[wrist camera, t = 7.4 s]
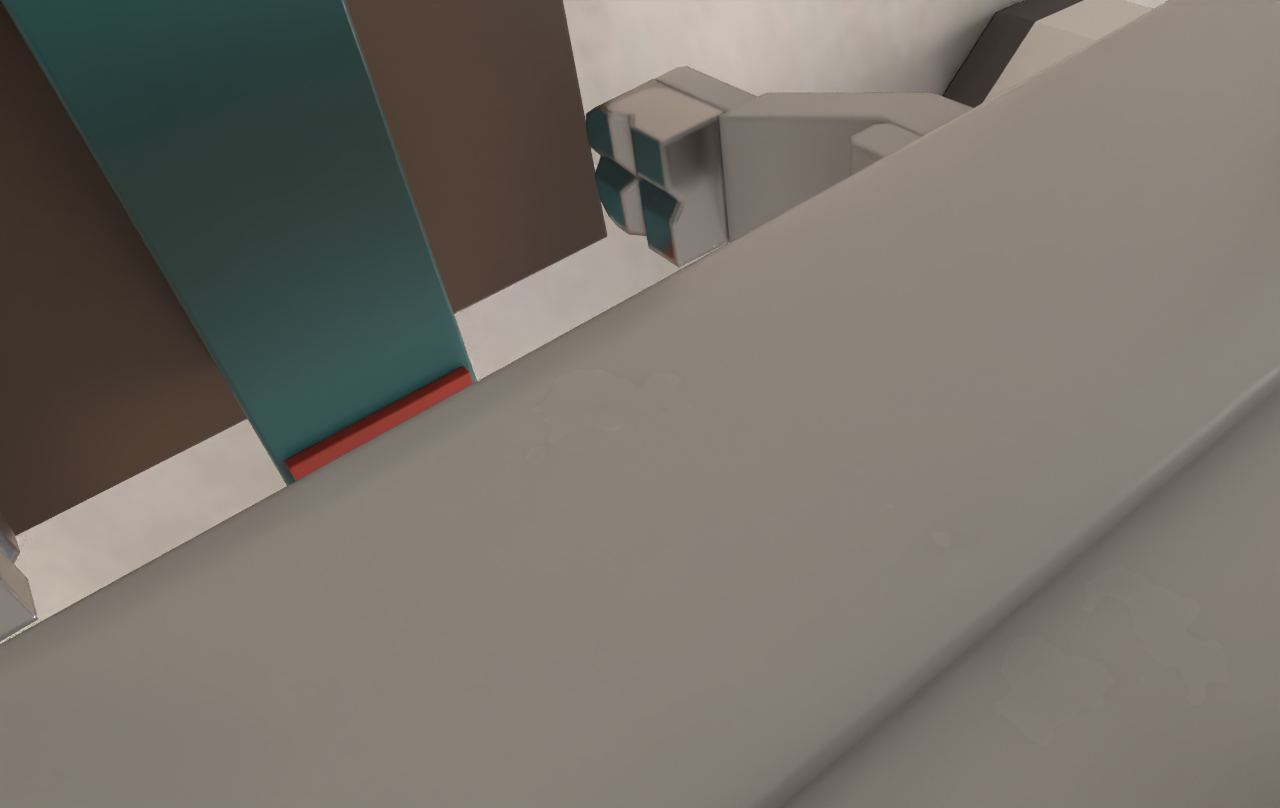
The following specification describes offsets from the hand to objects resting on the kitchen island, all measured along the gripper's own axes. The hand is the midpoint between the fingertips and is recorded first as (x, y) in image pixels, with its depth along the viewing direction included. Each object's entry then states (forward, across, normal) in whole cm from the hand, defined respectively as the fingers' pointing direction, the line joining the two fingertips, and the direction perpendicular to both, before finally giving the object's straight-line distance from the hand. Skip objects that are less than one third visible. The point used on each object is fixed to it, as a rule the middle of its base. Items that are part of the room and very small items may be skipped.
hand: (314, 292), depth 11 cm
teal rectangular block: (+7, -1, 0) cm, 7 cm away
